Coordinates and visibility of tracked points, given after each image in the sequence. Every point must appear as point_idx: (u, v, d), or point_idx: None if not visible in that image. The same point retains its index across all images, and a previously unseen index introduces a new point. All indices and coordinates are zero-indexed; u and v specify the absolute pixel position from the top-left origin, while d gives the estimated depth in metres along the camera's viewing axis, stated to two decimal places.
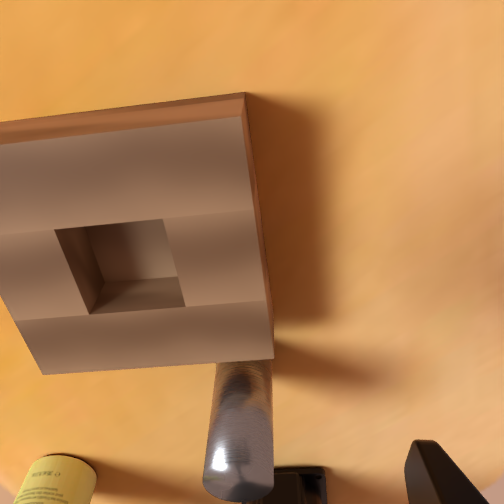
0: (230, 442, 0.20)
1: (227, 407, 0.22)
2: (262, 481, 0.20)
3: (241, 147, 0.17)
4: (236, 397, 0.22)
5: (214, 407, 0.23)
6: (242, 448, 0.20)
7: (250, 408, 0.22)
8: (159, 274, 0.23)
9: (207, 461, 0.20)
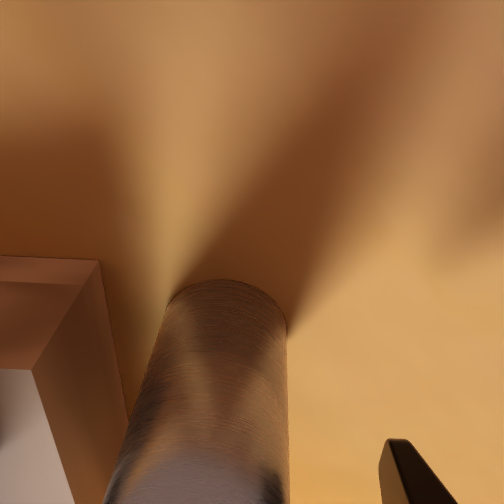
0: None
1: None
2: None
3: None
4: None
5: None
6: None
7: None
8: None
9: None
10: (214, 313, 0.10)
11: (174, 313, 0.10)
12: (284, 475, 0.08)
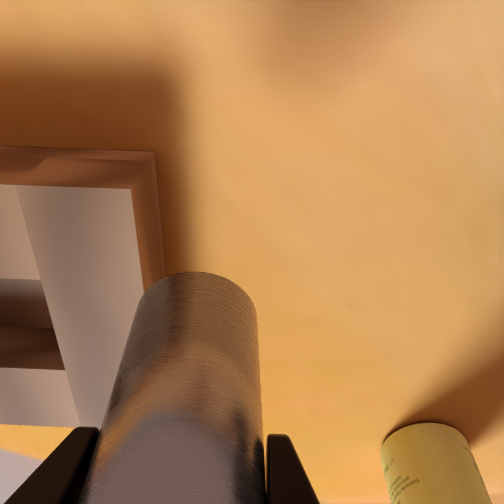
0: None
1: None
2: None
3: None
4: None
5: None
6: None
7: (80, 498, 0.07)
8: None
9: None
10: (186, 303, 0.10)
11: (146, 306, 0.11)
12: (259, 453, 0.08)
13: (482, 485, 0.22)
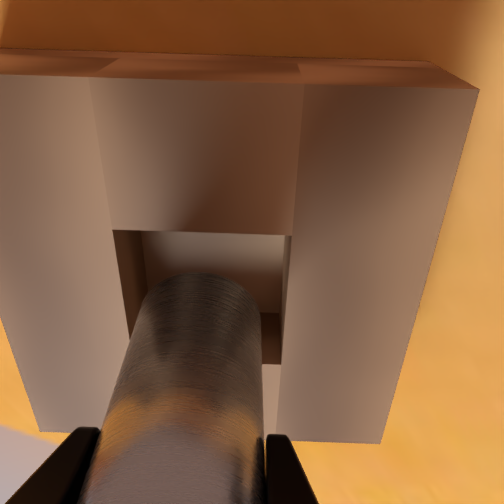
0: None
1: None
2: None
3: None
4: None
5: None
6: None
7: (78, 499, 0.07)
8: (277, 241, 0.15)
9: None
10: (189, 304, 0.10)
11: (150, 305, 0.11)
12: (259, 456, 0.08)
13: None
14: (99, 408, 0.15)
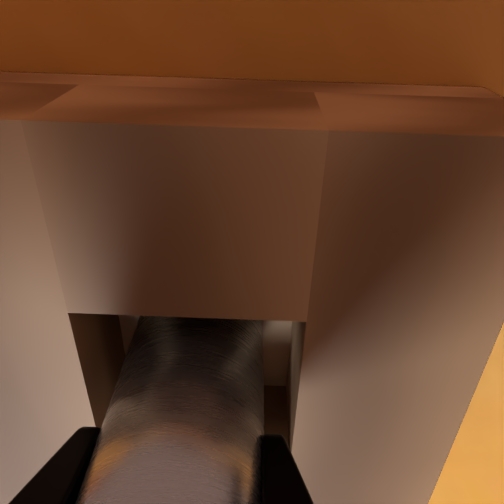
0: None
1: None
2: None
3: None
4: None
5: None
6: None
7: (77, 497, 0.07)
8: None
9: None
10: None
11: None
12: (259, 458, 0.08)
13: None
14: None
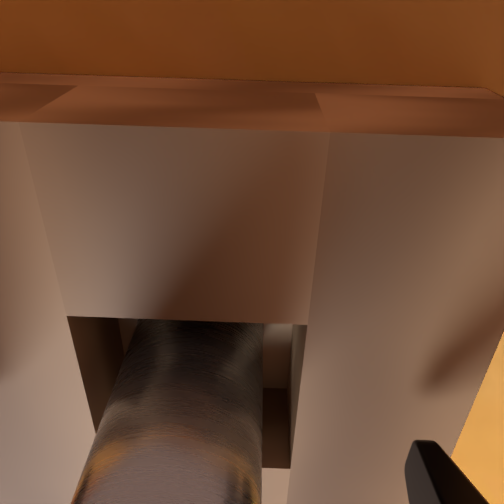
0: None
1: None
2: None
3: None
4: None
5: None
6: None
7: (72, 500, 0.07)
8: None
9: None
10: None
11: None
12: (255, 462, 0.08)
13: None
14: None
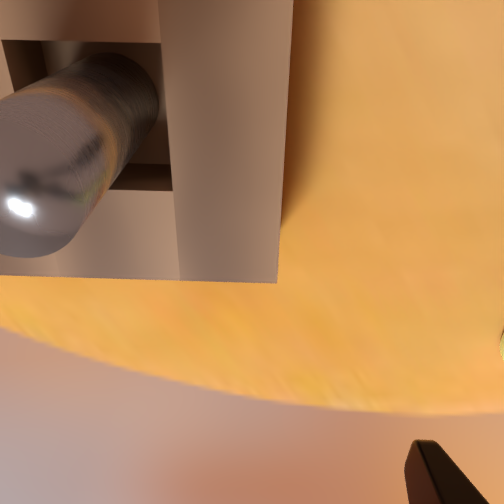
0: None
1: None
2: None
3: None
4: None
5: None
6: None
7: None
8: None
9: None
10: (93, 58, 0.14)
11: None
12: (120, 116, 0.12)
13: None
14: None
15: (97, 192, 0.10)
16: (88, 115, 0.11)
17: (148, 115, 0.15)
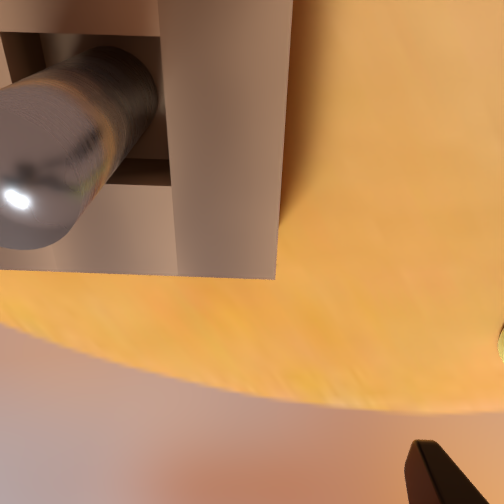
0: None
1: None
2: None
3: None
4: None
5: None
6: None
7: None
8: None
9: None
10: (92, 52, 0.14)
11: None
12: (118, 110, 0.12)
13: None
14: None
15: (94, 184, 0.10)
16: (86, 107, 0.11)
17: (147, 109, 0.15)
